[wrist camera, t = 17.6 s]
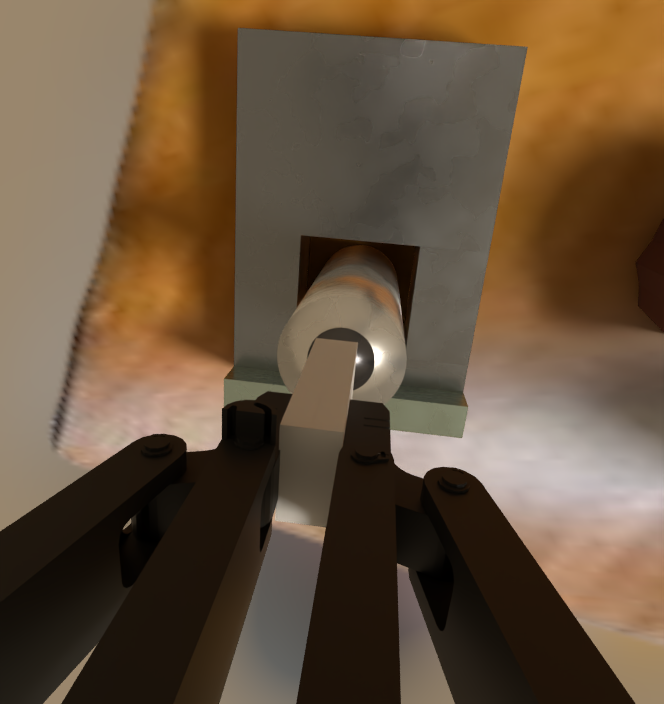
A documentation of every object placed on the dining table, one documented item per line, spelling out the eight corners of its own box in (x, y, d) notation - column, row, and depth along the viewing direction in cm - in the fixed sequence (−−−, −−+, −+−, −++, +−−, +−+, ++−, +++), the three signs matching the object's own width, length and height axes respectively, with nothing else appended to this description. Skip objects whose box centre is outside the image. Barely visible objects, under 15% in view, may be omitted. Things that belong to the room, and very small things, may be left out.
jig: (257, 47, 28) (225, 16, 23) (508, 64, 27) (539, 35, 22) (249, 371, 35) (223, 409, 30) (449, 394, 34) (462, 438, 29)
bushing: (323, 241, 32) (279, 290, 18) (402, 248, 31) (415, 304, 18) (318, 316, 33) (273, 412, 20) (392, 324, 33) (398, 427, 20)
